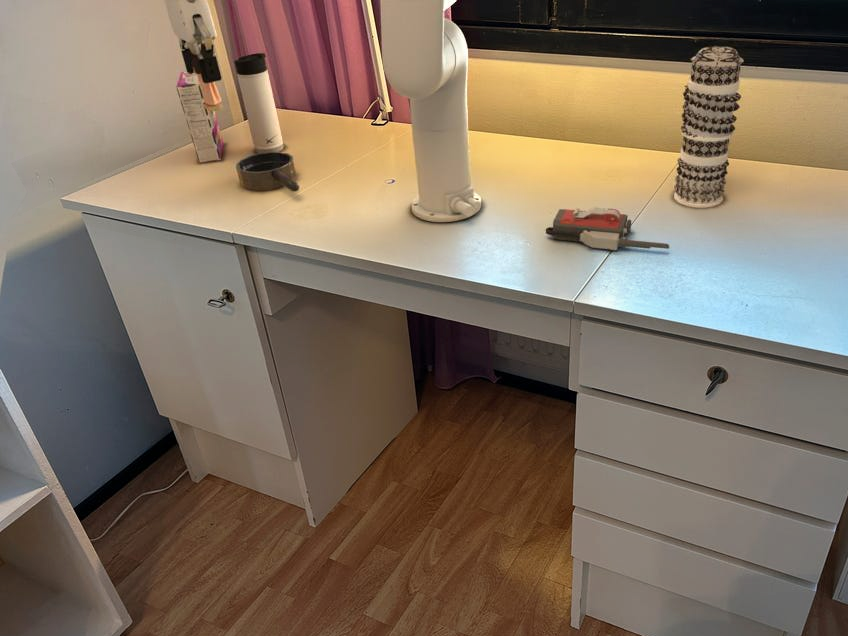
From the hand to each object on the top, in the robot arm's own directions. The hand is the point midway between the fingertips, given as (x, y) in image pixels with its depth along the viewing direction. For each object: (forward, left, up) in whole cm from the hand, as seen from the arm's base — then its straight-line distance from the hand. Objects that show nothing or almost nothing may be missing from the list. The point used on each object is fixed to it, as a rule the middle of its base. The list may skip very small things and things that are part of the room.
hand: (204, 76), depth 131 cm
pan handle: (-9, -7, -20) cm, 23 cm away
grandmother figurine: (0, 0, -6) cm, 6 cm away
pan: (0, -7, -22) cm, 23 cm away
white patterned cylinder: (-62, -63, -22) cm, 91 cm away
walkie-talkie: (-63, -40, -22) cm, 78 cm away
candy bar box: (+24, -4, -22) cm, 33 cm away
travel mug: (+17, -15, -22) cm, 31 cm away
